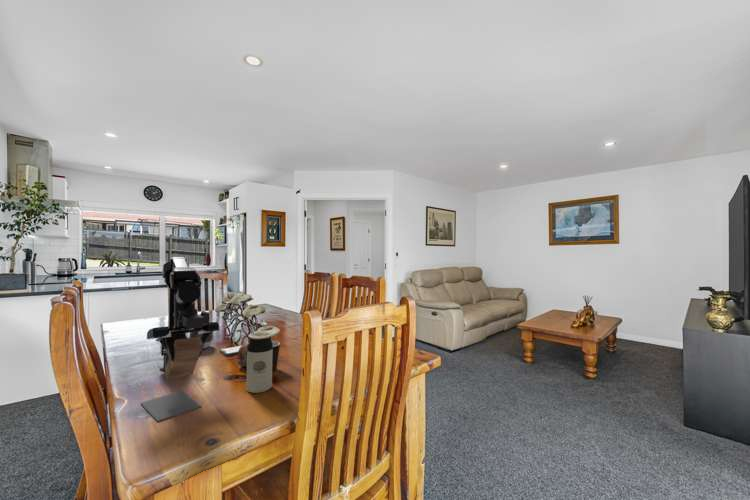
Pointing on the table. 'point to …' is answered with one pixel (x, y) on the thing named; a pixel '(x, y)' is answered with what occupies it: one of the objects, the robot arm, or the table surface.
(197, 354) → the board
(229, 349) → the phone case
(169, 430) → the table surface
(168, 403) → the mat
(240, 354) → the tin
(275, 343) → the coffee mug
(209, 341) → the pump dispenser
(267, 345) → the travel mug
